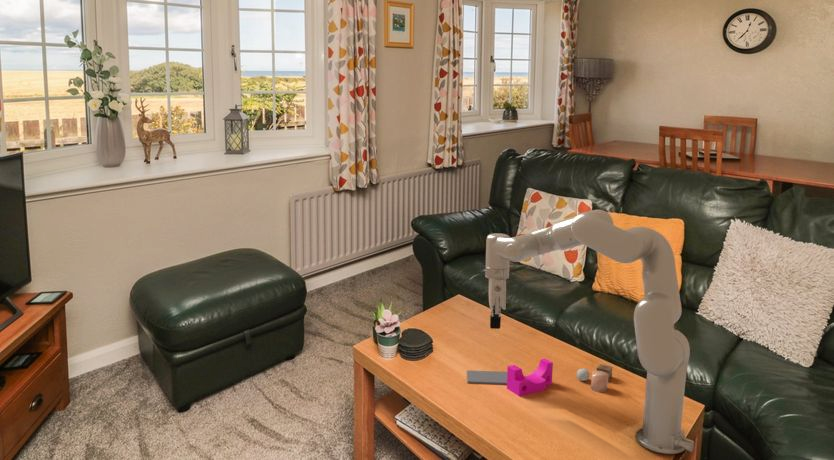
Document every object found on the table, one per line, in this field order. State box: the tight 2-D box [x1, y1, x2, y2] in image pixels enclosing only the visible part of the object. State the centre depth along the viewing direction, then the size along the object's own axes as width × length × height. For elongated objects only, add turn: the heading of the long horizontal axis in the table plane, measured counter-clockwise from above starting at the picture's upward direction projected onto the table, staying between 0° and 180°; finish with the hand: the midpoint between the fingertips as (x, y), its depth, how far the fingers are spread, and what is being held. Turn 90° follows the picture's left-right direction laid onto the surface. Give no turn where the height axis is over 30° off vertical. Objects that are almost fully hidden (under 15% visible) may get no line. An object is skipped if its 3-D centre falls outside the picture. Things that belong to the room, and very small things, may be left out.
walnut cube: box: [596, 363, 613, 383], centre depth 190 cm, size 4×4×4 cm
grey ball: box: [576, 368, 590, 382], centre depth 188 cm, size 4×4×4 cm
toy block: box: [506, 358, 554, 397], centre depth 182 cm, size 15×6×8 cm, turn 117°
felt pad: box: [466, 370, 507, 386], centre depth 189 cm, size 17×9×1 cm, turn 86°
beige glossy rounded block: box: [590, 370, 609, 393], centre depth 182 cm, size 5×5×5 cm
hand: (495, 327), depth 186 cm, fingers closed
